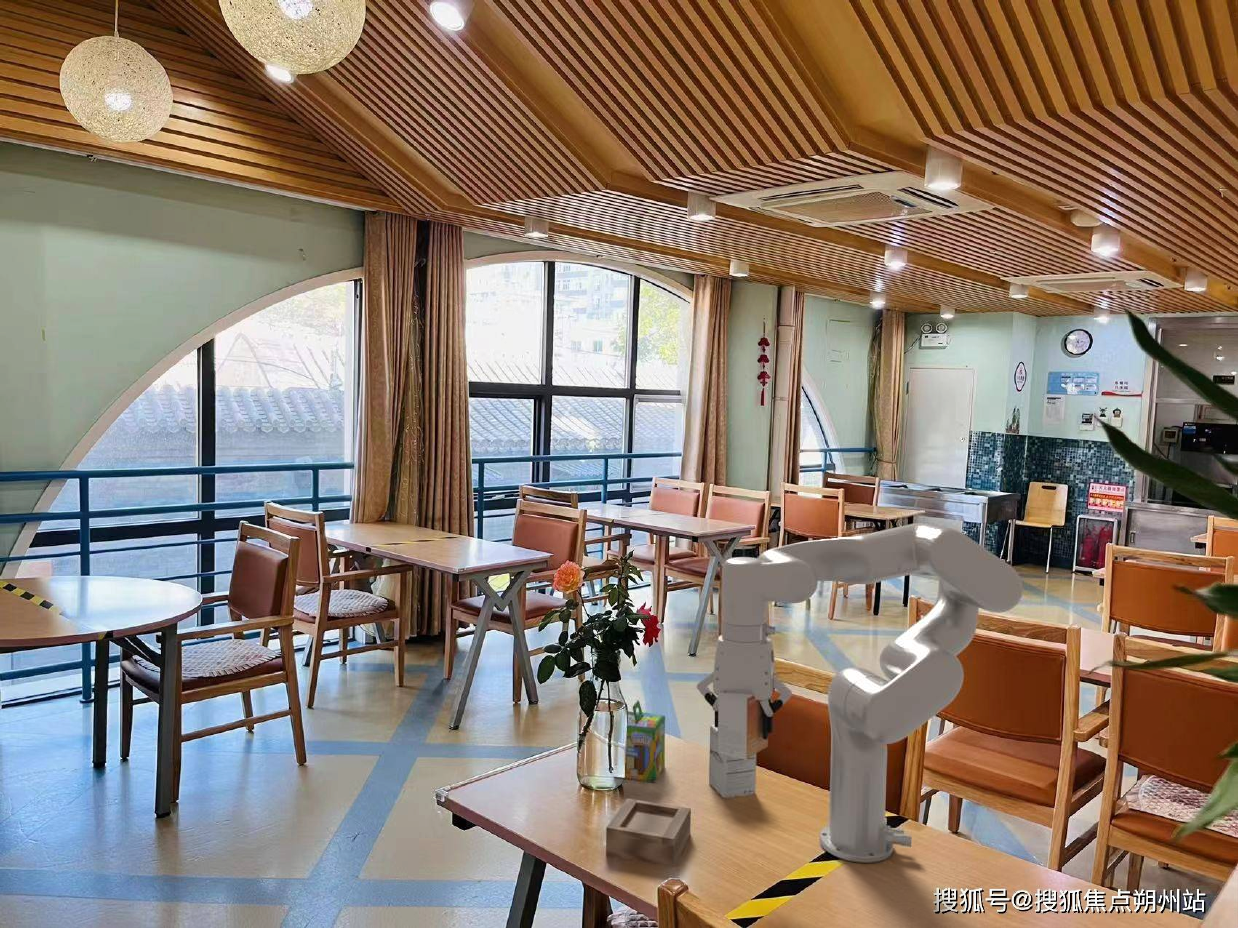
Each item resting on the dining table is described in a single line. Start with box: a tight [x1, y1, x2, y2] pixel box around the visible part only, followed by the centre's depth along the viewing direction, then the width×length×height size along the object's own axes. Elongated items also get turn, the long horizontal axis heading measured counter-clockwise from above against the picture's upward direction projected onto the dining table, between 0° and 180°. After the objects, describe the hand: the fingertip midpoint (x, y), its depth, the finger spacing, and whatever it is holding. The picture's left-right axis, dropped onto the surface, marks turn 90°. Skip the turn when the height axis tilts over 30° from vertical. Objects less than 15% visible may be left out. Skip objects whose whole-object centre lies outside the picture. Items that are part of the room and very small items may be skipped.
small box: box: [717, 692, 769, 760], centre depth 152 cm, size 8×6×10 cm
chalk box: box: [625, 700, 666, 783], centre depth 189 cm, size 9×9×15 cm
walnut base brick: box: [605, 798, 692, 867], centre depth 159 cm, size 12×12×5 cm
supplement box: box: [708, 723, 757, 799], centre depth 181 cm, size 7×7×13 cm
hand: (743, 733), depth 152 cm, fingers closed on small box, 7 cm apart
